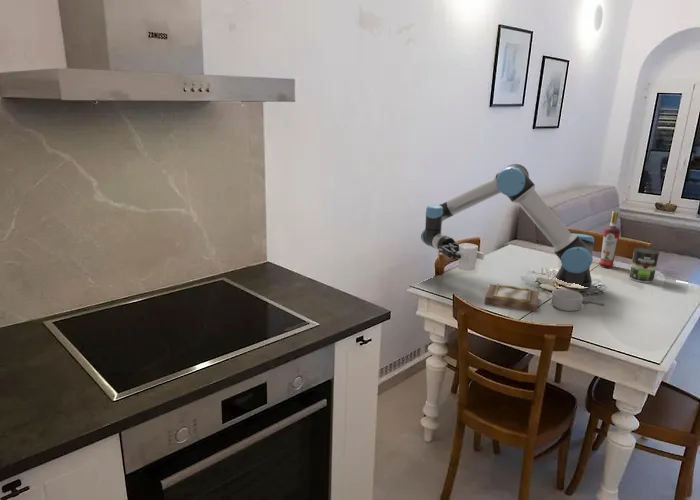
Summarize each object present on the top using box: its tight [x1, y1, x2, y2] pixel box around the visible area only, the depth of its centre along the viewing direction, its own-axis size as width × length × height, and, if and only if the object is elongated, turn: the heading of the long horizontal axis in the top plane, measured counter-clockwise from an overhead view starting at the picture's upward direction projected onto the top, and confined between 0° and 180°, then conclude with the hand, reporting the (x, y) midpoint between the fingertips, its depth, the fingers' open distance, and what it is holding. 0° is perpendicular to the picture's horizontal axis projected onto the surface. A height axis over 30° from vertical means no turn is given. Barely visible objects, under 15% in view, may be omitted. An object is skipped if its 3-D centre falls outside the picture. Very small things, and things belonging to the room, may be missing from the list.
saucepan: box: [551, 288, 605, 312], centre depth 203 cm, size 12×20×6 cm, turn 45°
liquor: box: [598, 210, 621, 269], centre depth 254 cm, size 7×7×28 cm
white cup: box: [458, 242, 479, 271], centre depth 218 cm, size 8×8×10 cm
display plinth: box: [484, 283, 540, 313], centre depth 212 cm, size 20×16×4 cm
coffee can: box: [628, 247, 660, 284], centre depth 238 cm, size 10×10×14 cm
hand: (474, 257), depth 214 cm, fingers closed on white cup, 8 cm apart
